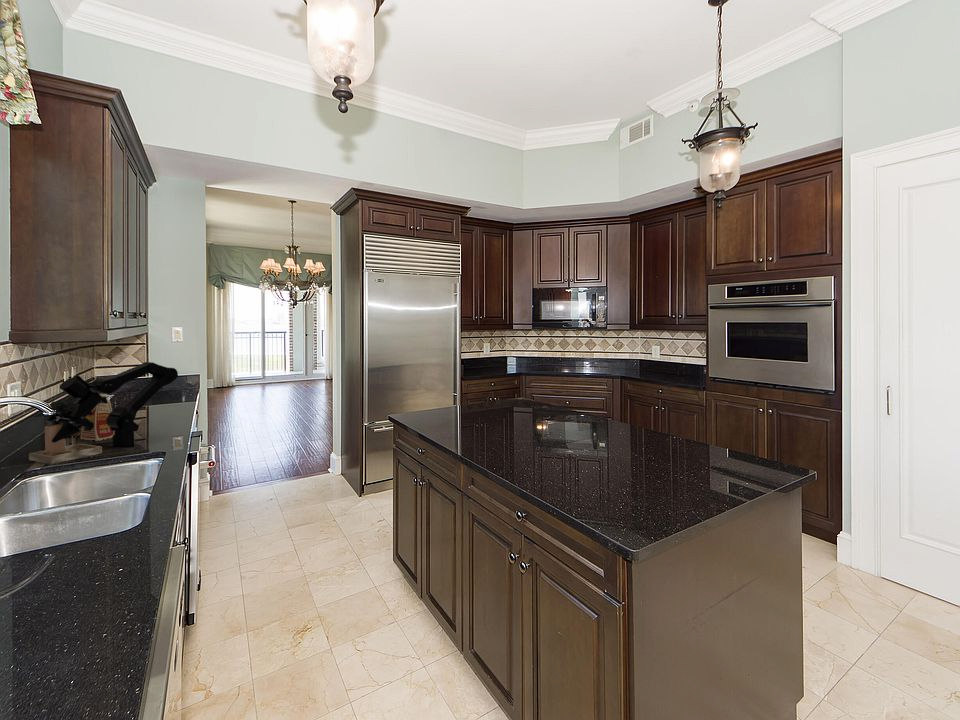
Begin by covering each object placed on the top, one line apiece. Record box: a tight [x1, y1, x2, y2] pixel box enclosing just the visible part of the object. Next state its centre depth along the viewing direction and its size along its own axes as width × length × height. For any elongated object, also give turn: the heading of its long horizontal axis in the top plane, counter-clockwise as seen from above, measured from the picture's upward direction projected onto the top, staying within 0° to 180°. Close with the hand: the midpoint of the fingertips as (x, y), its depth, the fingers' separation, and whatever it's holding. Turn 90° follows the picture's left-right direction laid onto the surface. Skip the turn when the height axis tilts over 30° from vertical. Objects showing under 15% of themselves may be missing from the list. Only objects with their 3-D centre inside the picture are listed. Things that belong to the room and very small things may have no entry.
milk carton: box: [80, 393, 115, 442], centre depth 201 cm, size 9×9×20 cm
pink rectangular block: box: [44, 424, 66, 455], centre depth 166 cm, size 4×2×12 cm, turn 161°
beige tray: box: [28, 443, 103, 465], centre depth 170 cm, size 16×12×3 cm
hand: (50, 441), depth 165 cm, fingers closed on pink rectangular block, 2 cm apart
